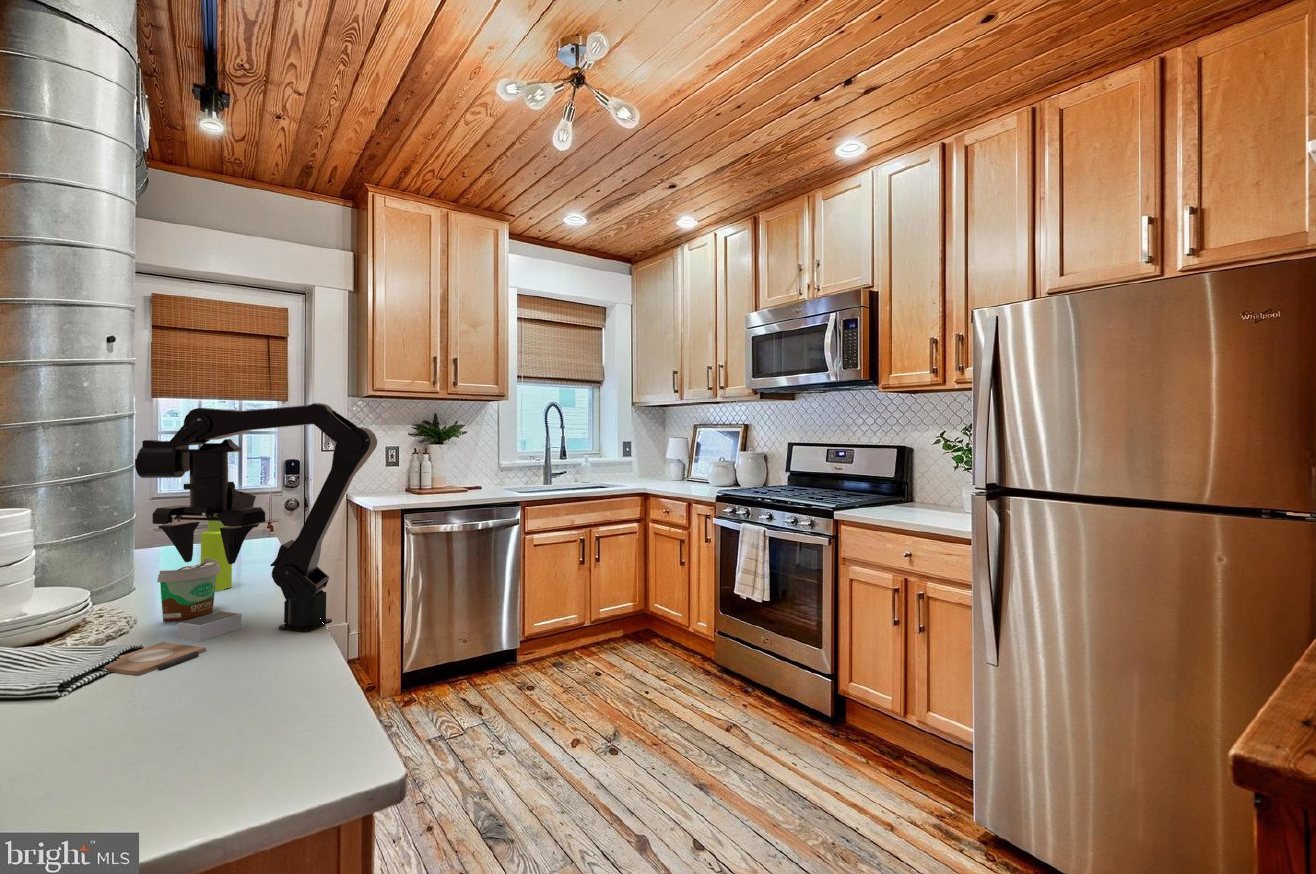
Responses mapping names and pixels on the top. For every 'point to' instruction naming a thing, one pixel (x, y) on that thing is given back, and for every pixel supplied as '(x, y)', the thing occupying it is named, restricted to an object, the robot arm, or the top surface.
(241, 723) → the top surface
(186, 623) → the white rectangular block
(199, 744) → the top surface
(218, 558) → the soap dispenser
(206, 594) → the food container
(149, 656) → the cutting board
